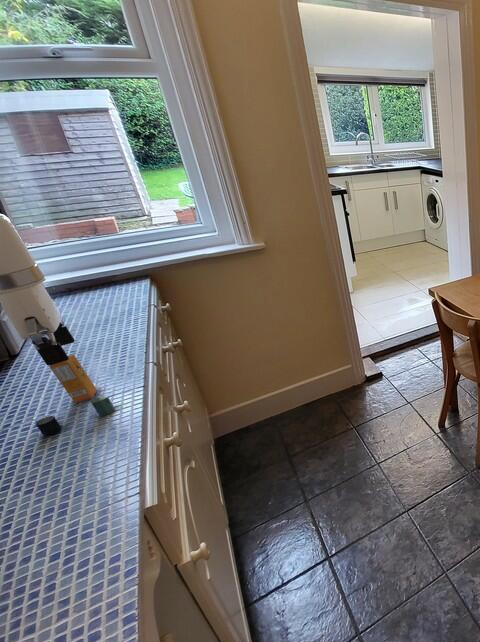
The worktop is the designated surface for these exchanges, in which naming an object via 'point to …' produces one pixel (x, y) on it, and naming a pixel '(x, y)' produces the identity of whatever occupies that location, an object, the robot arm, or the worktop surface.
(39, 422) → the black cylinder
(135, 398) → the worktop surface
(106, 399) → the teal green cylinder
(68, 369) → the supplement box
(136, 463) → the worktop surface
